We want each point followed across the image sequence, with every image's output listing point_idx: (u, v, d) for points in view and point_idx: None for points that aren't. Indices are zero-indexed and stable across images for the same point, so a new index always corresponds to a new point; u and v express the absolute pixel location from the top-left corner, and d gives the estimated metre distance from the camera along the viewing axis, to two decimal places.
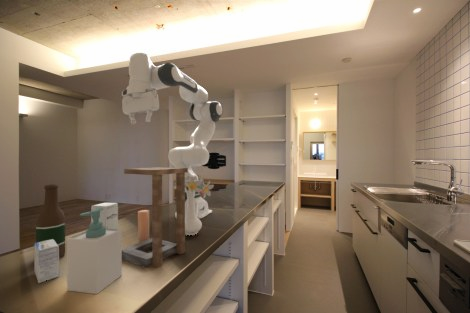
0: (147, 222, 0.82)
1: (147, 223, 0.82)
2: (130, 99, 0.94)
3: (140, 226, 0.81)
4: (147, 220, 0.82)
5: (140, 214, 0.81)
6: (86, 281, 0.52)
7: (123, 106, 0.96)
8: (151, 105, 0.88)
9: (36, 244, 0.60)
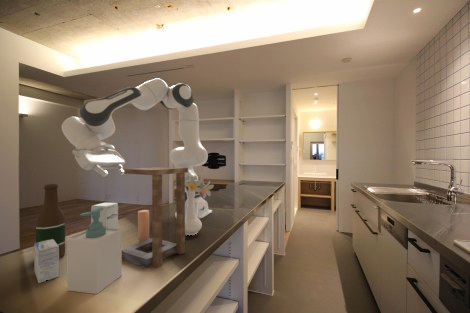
0: (147, 222, 0.82)
1: (147, 223, 0.82)
2: None
3: (140, 226, 0.81)
4: (147, 220, 0.82)
5: (140, 214, 0.81)
6: (86, 281, 0.52)
7: None
8: None
9: (36, 244, 0.60)
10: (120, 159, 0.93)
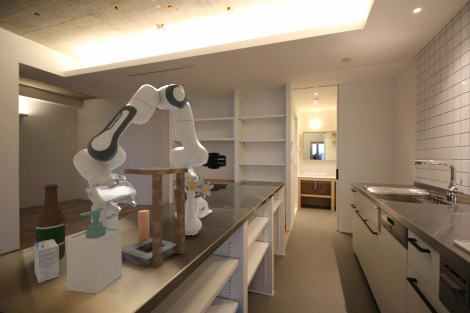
0: (147, 222, 0.82)
1: (147, 223, 0.82)
2: None
3: (140, 226, 0.81)
4: (147, 220, 0.82)
5: (140, 214, 0.81)
6: (86, 281, 0.52)
7: None
8: None
9: (36, 244, 0.60)
10: (131, 190, 0.92)
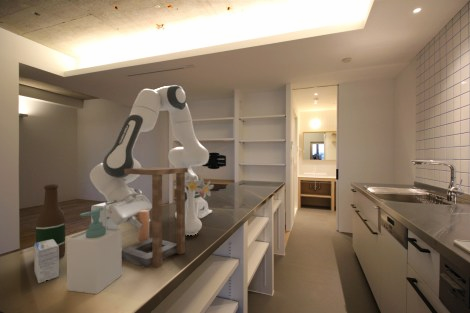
0: (147, 222, 0.82)
1: (147, 223, 0.82)
2: None
3: None
4: (147, 220, 0.82)
5: (140, 214, 0.81)
6: (86, 281, 0.52)
7: None
8: None
9: (36, 244, 0.60)
10: (148, 204, 0.91)
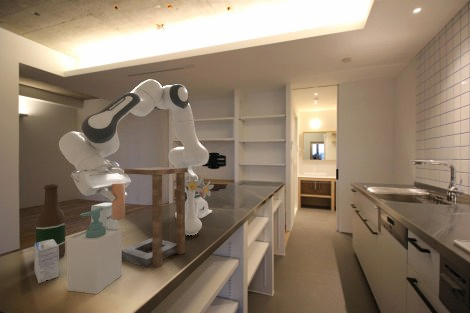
0: (122, 195, 0.74)
1: (122, 197, 0.74)
2: None
3: None
4: (122, 193, 0.74)
5: (114, 186, 0.73)
6: (86, 281, 0.52)
7: None
8: None
9: (36, 244, 0.60)
10: (125, 178, 0.82)
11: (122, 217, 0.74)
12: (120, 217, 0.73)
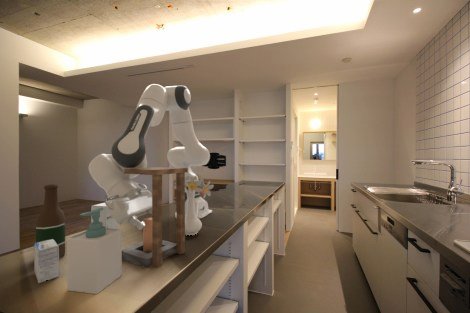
0: None
1: None
2: None
3: (145, 236, 0.70)
4: None
5: (145, 222, 0.70)
6: (86, 281, 0.52)
7: None
8: None
9: (36, 244, 0.60)
10: None
11: None
12: None
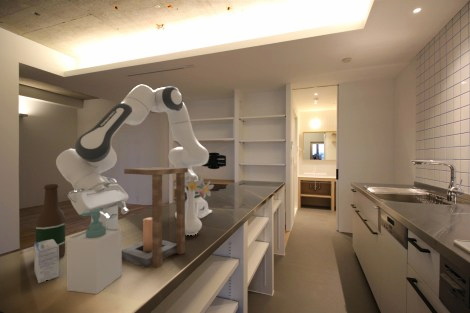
0: None
1: None
2: None
3: (146, 236, 0.70)
4: None
5: (146, 222, 0.70)
6: (86, 281, 0.52)
7: None
8: None
9: (36, 244, 0.60)
10: (123, 195, 0.83)
11: None
12: None
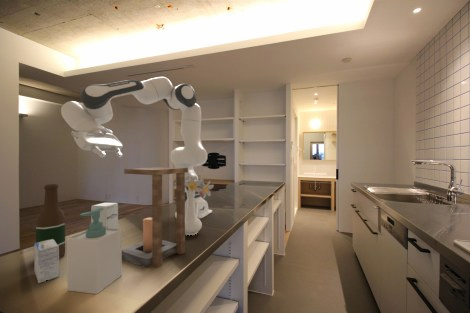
0: None
1: None
2: None
3: (146, 236, 0.70)
4: None
5: (146, 222, 0.70)
6: (86, 281, 0.52)
7: None
8: None
9: (36, 244, 0.60)
10: (118, 143, 0.96)
11: None
12: None
